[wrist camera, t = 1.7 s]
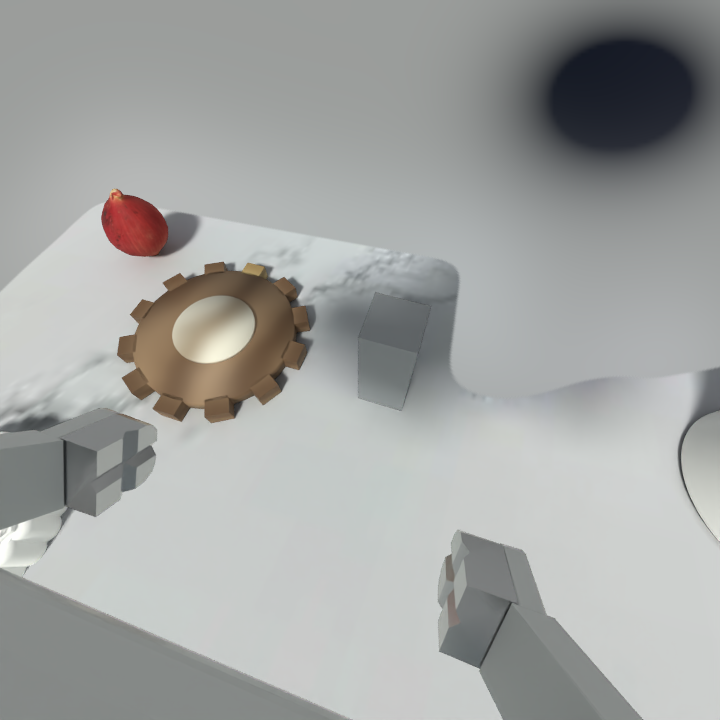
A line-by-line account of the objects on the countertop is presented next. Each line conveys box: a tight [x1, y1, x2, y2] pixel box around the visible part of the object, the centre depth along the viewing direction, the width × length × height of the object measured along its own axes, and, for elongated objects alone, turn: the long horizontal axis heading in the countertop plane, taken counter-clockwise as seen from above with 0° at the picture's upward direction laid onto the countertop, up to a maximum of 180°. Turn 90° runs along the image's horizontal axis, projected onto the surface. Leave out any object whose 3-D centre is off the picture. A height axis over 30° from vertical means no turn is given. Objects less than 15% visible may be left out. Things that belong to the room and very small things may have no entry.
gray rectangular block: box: [358, 292, 431, 411], centre depth 28 cm, size 4×4×10 cm
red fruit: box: [101, 189, 168, 257], centre depth 37 cm, size 6×6×8 cm
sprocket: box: [117, 262, 310, 423], centre depth 34 cm, size 18×18×2 cm
